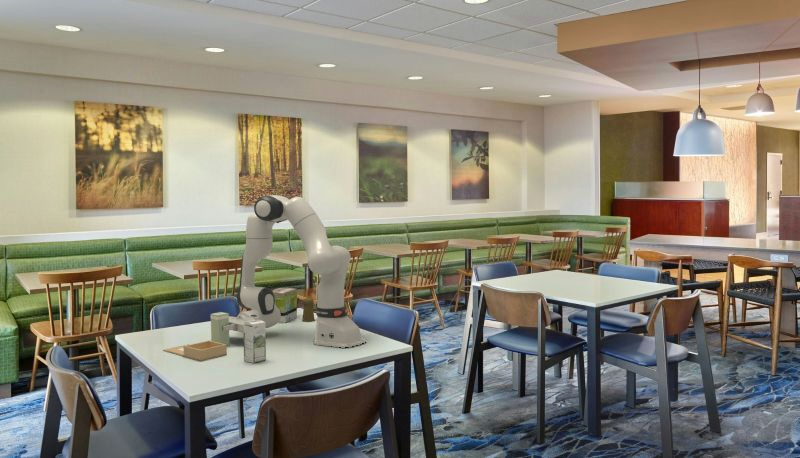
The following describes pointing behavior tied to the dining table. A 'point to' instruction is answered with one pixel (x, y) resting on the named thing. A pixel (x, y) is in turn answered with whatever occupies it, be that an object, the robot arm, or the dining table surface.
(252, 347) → the syrup box
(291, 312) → the tea box
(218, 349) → the box
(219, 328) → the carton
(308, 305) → the cork
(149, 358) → the dining table surface
